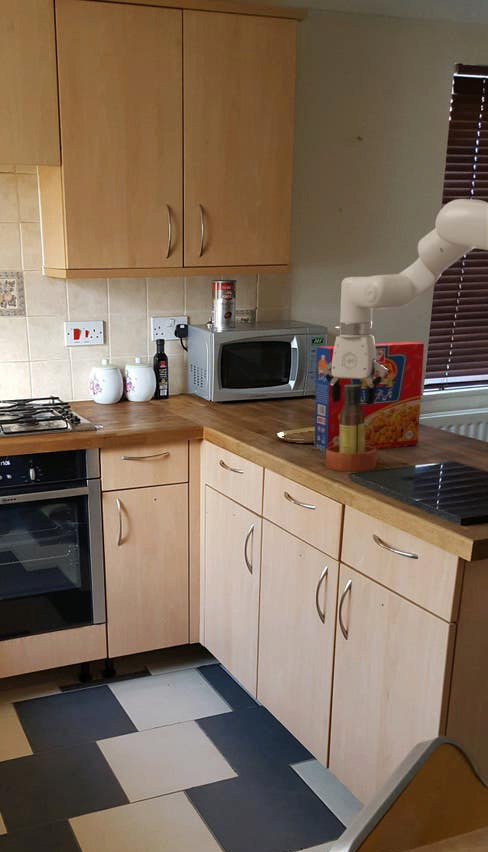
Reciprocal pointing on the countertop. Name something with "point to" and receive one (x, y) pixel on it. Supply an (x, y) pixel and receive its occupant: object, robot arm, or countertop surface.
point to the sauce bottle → (352, 421)
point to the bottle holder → (350, 459)
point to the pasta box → (392, 407)
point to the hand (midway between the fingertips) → (353, 402)
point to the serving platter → (296, 432)
